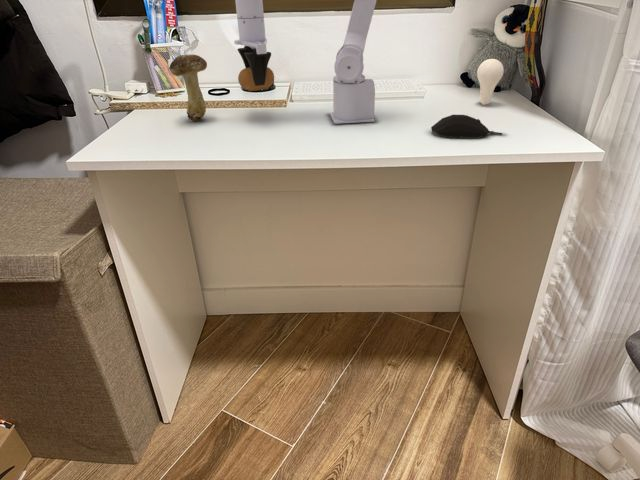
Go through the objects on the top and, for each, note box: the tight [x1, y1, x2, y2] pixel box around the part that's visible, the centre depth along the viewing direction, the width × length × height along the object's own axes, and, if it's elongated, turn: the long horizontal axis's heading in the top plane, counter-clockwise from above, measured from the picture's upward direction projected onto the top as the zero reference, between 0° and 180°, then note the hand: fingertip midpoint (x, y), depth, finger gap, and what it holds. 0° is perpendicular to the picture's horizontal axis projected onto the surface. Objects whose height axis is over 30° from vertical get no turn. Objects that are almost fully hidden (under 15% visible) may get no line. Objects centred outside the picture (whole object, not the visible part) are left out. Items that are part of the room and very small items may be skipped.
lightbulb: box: [476, 58, 505, 106], centre depth 109 cm, size 6×6×11 cm
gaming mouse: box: [430, 114, 503, 139], centre depth 93 cm, size 6×15×4 cm, turn 83°
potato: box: [237, 66, 275, 92], centre depth 101 cm, size 8×5×5 cm, turn 112°
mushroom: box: [168, 53, 208, 122], centre depth 102 cm, size 9×9×15 cm
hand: (256, 82), depth 102 cm, fingers closed on potato, 5 cm apart
